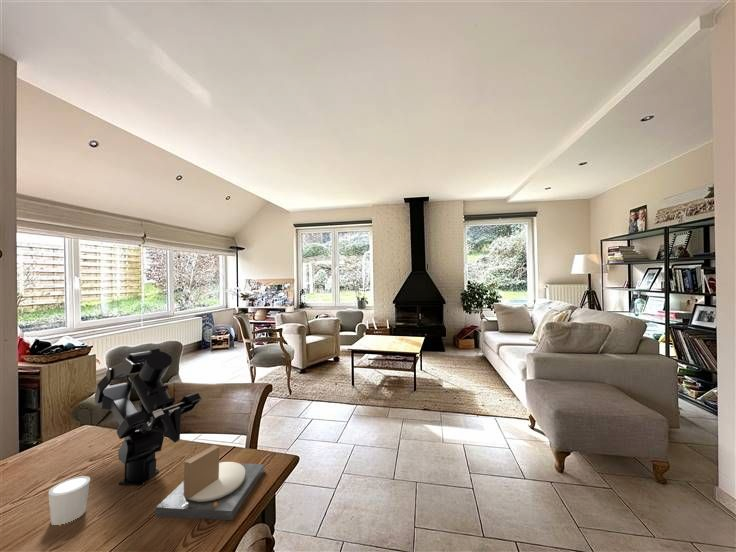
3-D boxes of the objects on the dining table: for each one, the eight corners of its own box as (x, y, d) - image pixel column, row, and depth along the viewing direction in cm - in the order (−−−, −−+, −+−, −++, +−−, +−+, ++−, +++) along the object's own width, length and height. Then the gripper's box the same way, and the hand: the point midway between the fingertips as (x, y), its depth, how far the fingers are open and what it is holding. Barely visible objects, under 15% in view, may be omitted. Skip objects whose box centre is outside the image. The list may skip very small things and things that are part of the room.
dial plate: (155, 516, 68) (155, 507, 68) (203, 469, 86) (203, 461, 86) (231, 520, 67) (231, 510, 67) (263, 471, 85) (264, 463, 85)
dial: (219, 461, 86) (220, 429, 86) (256, 473, 81) (257, 438, 81) (166, 494, 72) (167, 455, 73) (207, 511, 67) (208, 469, 67)
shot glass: (62, 530, 64) (63, 497, 65) (38, 525, 66) (39, 492, 66) (96, 507, 71) (98, 477, 71) (74, 503, 72) (75, 473, 73)
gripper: (171, 397, 91) (195, 442, 86) (96, 422, 74) (121, 479, 69) (189, 374, 88) (215, 419, 84) (116, 395, 71) (143, 452, 67)
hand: (177, 441), depth 76 cm, fingers closed
